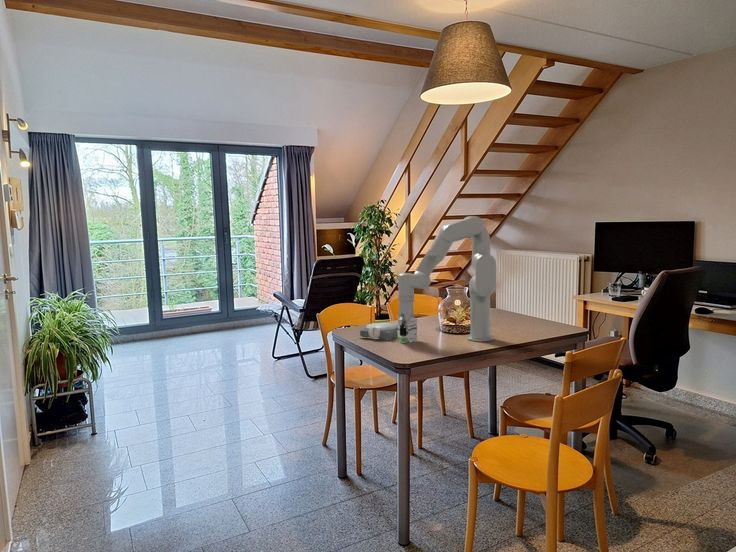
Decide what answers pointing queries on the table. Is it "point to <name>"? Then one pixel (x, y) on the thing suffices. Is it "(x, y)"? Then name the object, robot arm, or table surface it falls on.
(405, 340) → the ink box
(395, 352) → the table surface
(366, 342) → the table surface
